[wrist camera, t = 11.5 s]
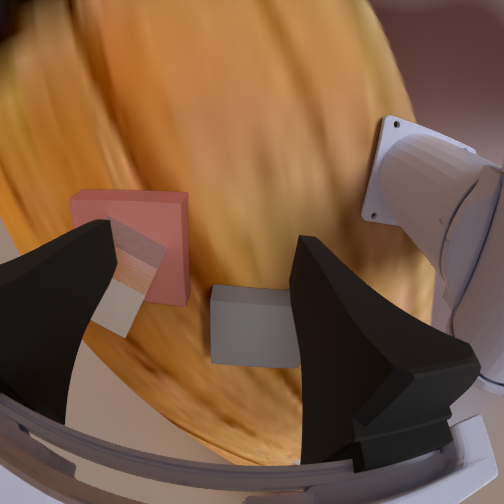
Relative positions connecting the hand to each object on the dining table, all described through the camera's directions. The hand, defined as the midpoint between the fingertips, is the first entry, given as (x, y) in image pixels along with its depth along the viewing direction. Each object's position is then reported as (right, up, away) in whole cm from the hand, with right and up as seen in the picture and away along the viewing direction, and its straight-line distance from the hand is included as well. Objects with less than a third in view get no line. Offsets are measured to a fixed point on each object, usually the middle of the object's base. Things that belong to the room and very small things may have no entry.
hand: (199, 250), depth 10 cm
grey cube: (-7, 0, +9) cm, 12 cm away
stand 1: (-7, +1, +11) cm, 13 cm away
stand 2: (+3, -7, +16) cm, 17 cm away
